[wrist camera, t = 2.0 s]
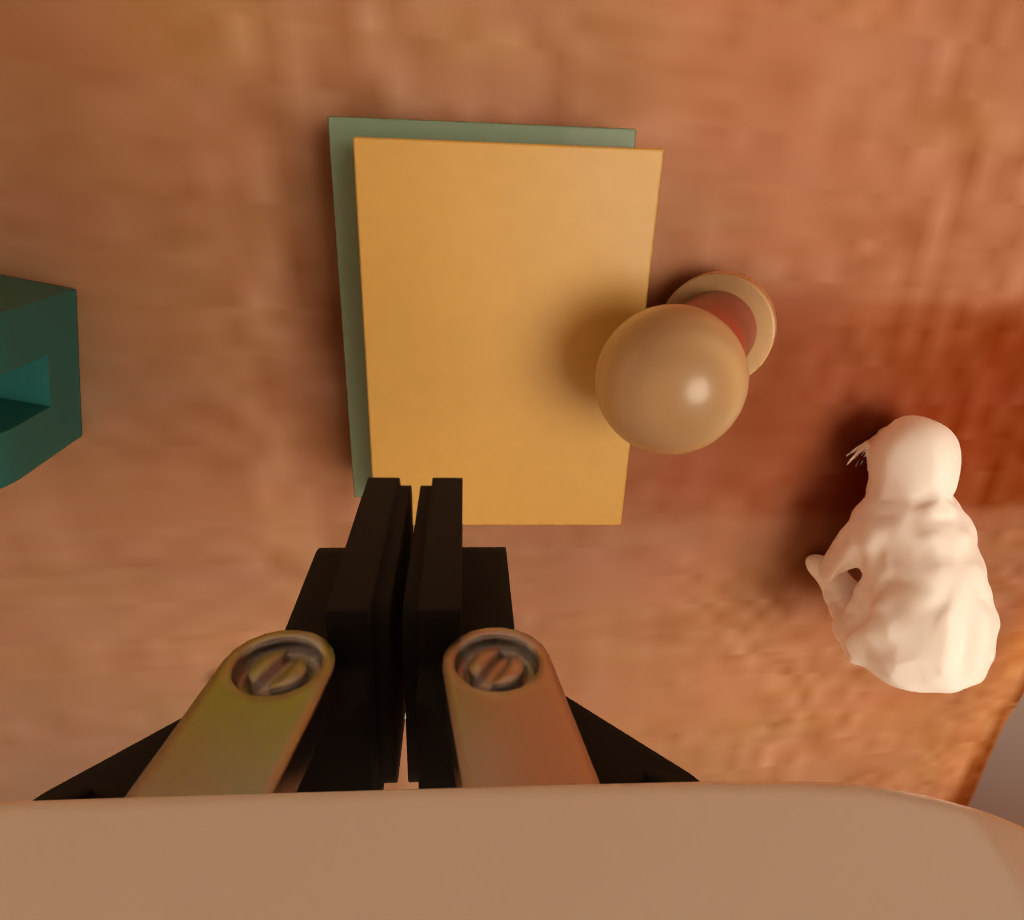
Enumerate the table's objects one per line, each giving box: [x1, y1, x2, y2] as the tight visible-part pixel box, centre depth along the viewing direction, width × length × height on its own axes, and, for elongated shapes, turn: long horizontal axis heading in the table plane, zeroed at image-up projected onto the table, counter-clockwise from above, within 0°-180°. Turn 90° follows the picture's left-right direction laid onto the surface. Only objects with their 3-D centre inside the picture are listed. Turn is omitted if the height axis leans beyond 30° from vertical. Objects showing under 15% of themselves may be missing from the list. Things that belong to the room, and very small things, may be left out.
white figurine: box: [805, 415, 1000, 693], centre depth 31 cm, size 6×8×12 cm
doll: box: [595, 271, 777, 455], centre depth 25 cm, size 9×5×12 cm, turn 88°
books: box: [328, 116, 664, 525], centre depth 27 cm, size 11×15×6 cm
